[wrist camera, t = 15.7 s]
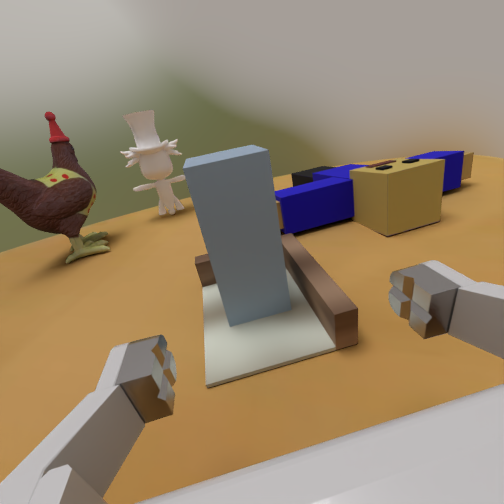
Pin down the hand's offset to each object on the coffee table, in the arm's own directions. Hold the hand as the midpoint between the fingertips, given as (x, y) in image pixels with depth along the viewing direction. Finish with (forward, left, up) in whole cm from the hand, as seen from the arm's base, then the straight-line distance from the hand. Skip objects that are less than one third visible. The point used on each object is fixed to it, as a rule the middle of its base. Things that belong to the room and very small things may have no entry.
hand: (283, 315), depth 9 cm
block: (+5, +10, -8) cm, 14 cm away
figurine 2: (+14, +44, -8) cm, 47 cm away
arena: (+6, +10, -8) cm, 14 cm away
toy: (+31, +17, -8) cm, 36 cm away
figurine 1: (-3, +44, -8) cm, 45 cm away
